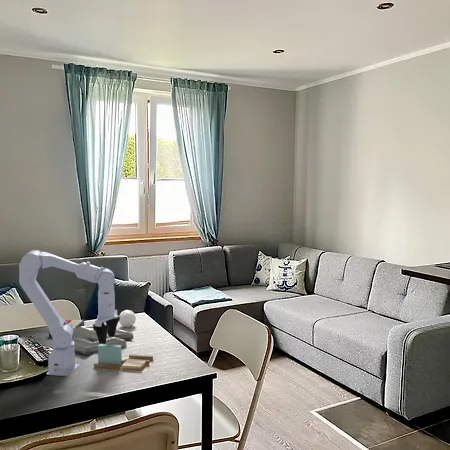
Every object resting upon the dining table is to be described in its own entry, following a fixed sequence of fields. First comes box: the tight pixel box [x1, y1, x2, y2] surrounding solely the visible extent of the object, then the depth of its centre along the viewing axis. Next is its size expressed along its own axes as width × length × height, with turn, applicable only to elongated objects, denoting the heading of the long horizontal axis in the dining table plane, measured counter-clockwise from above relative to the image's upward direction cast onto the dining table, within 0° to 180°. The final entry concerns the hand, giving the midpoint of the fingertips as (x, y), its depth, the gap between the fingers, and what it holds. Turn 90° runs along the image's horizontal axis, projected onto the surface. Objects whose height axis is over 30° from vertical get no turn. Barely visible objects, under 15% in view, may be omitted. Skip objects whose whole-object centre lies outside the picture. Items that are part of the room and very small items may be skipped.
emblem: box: [72, 325, 134, 356], centre depth 192 cm, size 28×5×28 cm
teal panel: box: [97, 344, 123, 366], centre depth 167 cm, size 2×8×8 cm, turn 81°
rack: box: [92, 354, 155, 374], centre depth 169 cm, size 12×19×2 cm, turn 81°
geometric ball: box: [118, 309, 137, 328], centre depth 215 cm, size 8×8×8 cm
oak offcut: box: [122, 360, 146, 369], centre depth 165 cm, size 5×7×1 cm
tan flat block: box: [122, 364, 146, 371], centre depth 165 cm, size 5×7×1 cm
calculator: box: [48, 319, 85, 338], centre depth 208 cm, size 11×4×15 cm
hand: (107, 340), depth 169 cm, fingers open, 7 cm apart
